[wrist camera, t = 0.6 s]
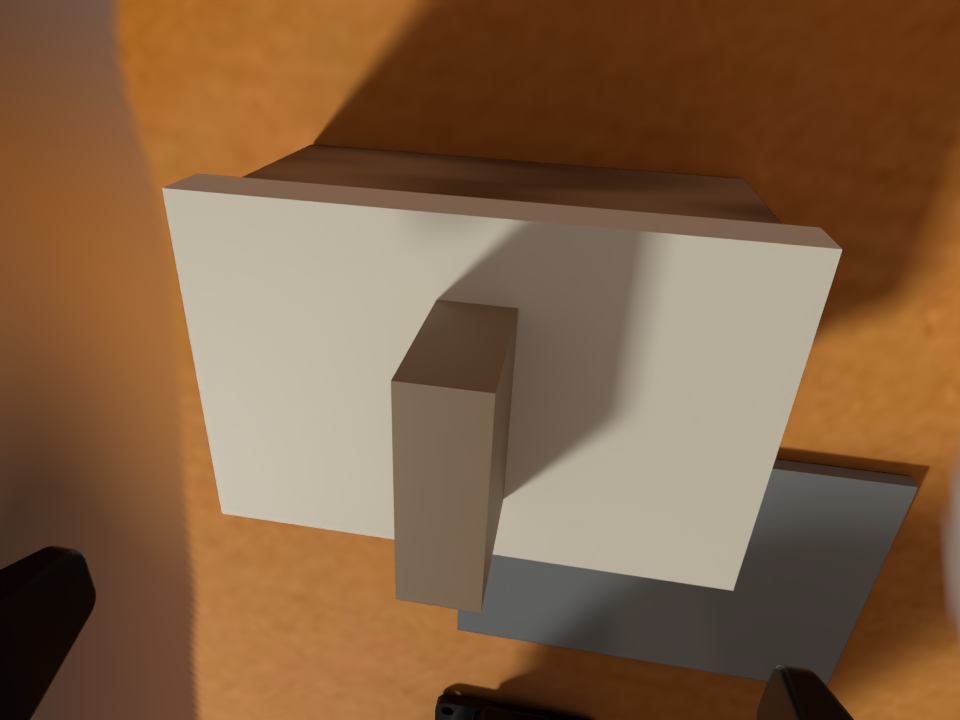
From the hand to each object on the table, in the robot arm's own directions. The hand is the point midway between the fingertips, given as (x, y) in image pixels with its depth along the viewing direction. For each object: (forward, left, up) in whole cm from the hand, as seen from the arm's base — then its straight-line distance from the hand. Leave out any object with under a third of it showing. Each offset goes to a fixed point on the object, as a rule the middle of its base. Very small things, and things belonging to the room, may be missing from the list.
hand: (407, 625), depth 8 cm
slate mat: (-9, -5, -11) cm, 15 cm away
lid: (0, 0, -6) cm, 6 cm away
